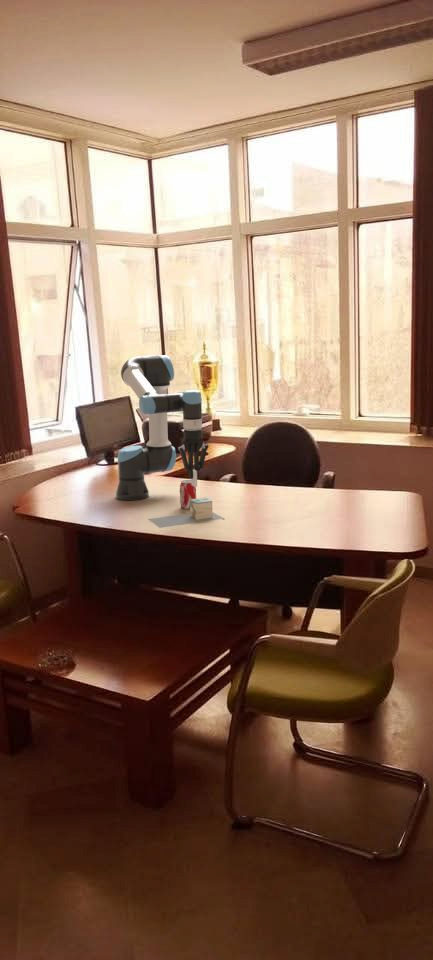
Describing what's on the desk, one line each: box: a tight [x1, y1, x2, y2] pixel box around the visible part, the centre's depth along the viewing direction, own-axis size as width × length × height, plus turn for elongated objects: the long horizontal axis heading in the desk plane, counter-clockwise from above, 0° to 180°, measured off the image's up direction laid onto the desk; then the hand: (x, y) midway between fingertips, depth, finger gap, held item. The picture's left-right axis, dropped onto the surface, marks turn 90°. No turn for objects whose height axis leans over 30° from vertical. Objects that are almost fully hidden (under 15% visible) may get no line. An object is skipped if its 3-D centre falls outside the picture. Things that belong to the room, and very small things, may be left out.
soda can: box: [179, 479, 197, 510], centre depth 334 cm, size 7×7×12 cm
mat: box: [147, 511, 225, 529], centre depth 317 cm, size 15×28×1 cm, turn 114°
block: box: [189, 497, 214, 520], centre depth 319 cm, size 7×7×7 cm
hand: (194, 485), depth 316 cm, fingers closed
